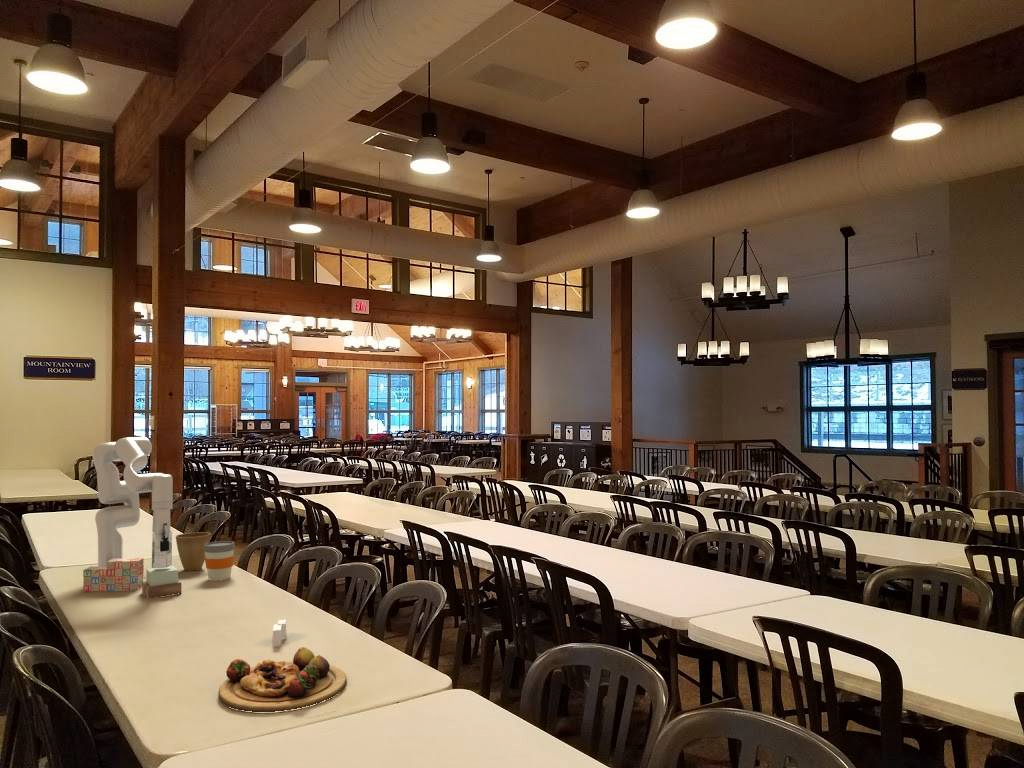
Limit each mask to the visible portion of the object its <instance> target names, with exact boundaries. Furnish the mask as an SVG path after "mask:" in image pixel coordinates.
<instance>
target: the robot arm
mask: <svg viewBox="0 0 1024 768" xmlns="http://www.w3.org/2000/svg"><path fill="white" fill-rule="evenodd" d="M152 450H153V445H152V442H151V441H150V439H149V438H147V437H145V436H133V437H131V436H129V437H128V436H127V437H123V438H119V439H117V440H116V441H109V442H108V441H107V442H101V443H98V444H97V445H96V446H95V447H93V451H92V462H93V464H94V468H95V470H96V477H97V479H96V481H97V482H96V483H97V497H98V501H99V502H100V503H101V504H104V505H111V504H112V505H113V504H120V503H123V504H124V505H116V506H107V507H104V508H100V509H99V510H98V511H97V512H96V514H95V518H94V519H95V525H96V531H97V567H98V566H107V561H110V560H111V559H121V558H124V556H123V555H124V554H123V553H124V551H123V550H124V549H123V546H124V545H123V541H124V539H123V536H122V534H121V533H120V532H119V530H118V529H122V528H128V527H134V526H136V525H137V524H138V523H139V521H140V518H141V512H140V511H141V509H140V495H139V494H143V493H150V492H151V510H152V511H153V512H152V513H153V514H152V528H151V529H152V533H153V532H155V534H156V535H159V534H160V536H161V541H160V551H161V552H162V551H169V535H168V534H169V533H170V530H171V510H172V509H173V499H174V497H173V495H174V494H173V491H174V490H173V485H174V484H173V483H174V482H173V481H174V480H173V476H172V475H171V474H166V473H163V472H153V473H140V474H138V472H140V471H141V470H143V469H144V468H146V466H147V465H148V462H149V461H148V459H149V458H148V456H149V455H150V454H151V453H152ZM113 462H122V463H123V464H124V465H125V466H124V470H123V475H122V476H123V480H120V471H119V469H118V467H117V466H116V464H114V463H113ZM163 532H164V533H163Z"/></svg>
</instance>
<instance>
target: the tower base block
mask: <svg viewBox="0 0 1024 768" xmlns="http://www.w3.org/2000/svg"><path fill="white" fill-rule="evenodd" d="M141 589H142V590H141V593H143V594H144V595H143V594H142V595H143V596H144V597H146V598H147V597H148V598H153V599H156V598H155V597H159V598H162V597H161V596H166V597H168V596H167V595H172V594H178V593H181V594H182V582H181V581H180V580H179V579H178V583H171V584H164V585H156V586H150V585H149V584H148V583H147V582H146V581H143V582H142V588H141ZM172 596H173V595H172ZM148 598H147V599H148Z"/></svg>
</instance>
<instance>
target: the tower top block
mask: <svg viewBox="0 0 1024 768" xmlns="http://www.w3.org/2000/svg"><path fill="white" fill-rule="evenodd" d="M145 578H146V582H147V583H148V584H149V585H150V586H156V585H164V584H171V583H178V580H179V569H178V568H176V567H175V566H174V565H170V566H168V567H166V568H152V567H151V568H146V577H145Z"/></svg>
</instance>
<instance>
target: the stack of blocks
mask: <svg viewBox="0 0 1024 768" xmlns="http://www.w3.org/2000/svg"><path fill="white" fill-rule="evenodd" d="M144 560H145V559H144V558H143V557H137V558H136V557H125V558H124V557H123V558H121V559H111V560H110V561H107V566H98V565H97V566H89V567H87V568H84V569H83V570H82V571H83V574H82V576H83V581H82V582H83V584H82V585H83V588H82V589H83V593H93V592H92V591H106V592H122V591H121V590H135V591H139V590H141V589H142V588H141V587H142V582H144V572H145V571H144V569H145V568H144V566H145V564H144ZM138 589H139V590H138ZM90 591H91V592H90Z"/></svg>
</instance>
